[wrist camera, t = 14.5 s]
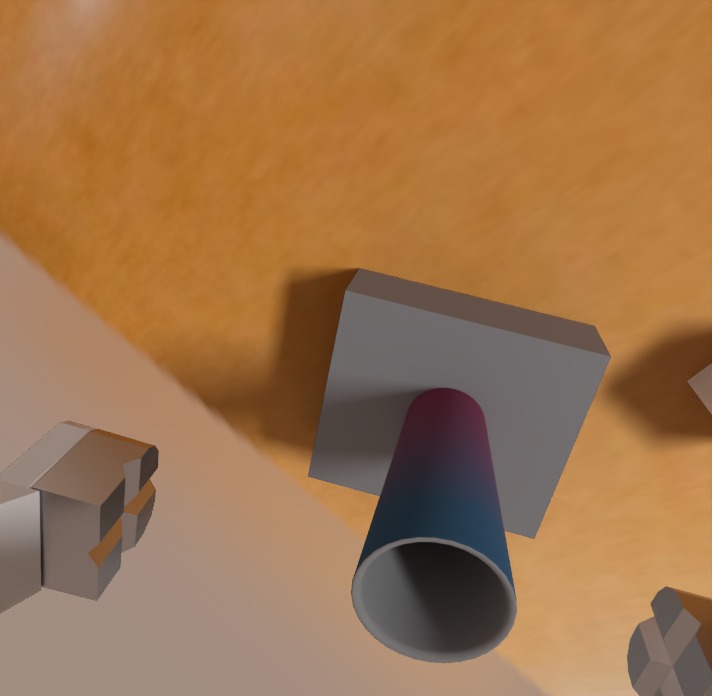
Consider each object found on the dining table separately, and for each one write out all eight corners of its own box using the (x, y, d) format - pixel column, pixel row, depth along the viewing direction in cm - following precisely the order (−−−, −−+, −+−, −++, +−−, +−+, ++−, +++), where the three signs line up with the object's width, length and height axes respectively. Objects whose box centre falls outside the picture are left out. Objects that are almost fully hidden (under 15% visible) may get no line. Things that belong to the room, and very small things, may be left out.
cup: (428, 482, 40) (407, 681, 27) (372, 404, 39) (319, 573, 25) (520, 440, 38) (548, 634, 24) (463, 355, 36) (460, 512, 23)
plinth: (323, 438, 46) (307, 476, 42) (359, 268, 41) (345, 290, 36) (527, 494, 45) (534, 538, 41) (594, 326, 39) (611, 356, 35)
